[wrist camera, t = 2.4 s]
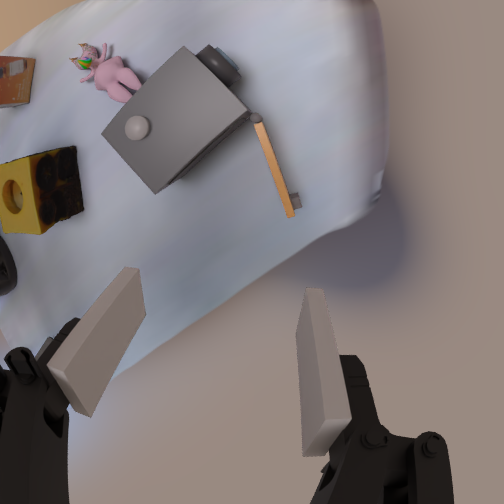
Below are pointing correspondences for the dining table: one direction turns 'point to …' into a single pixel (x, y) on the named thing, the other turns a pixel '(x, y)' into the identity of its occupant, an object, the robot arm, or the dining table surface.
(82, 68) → the pink creature figurine
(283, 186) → the side door
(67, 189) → the candle
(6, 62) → the small box
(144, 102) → the camera body
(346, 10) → the dining table surface
